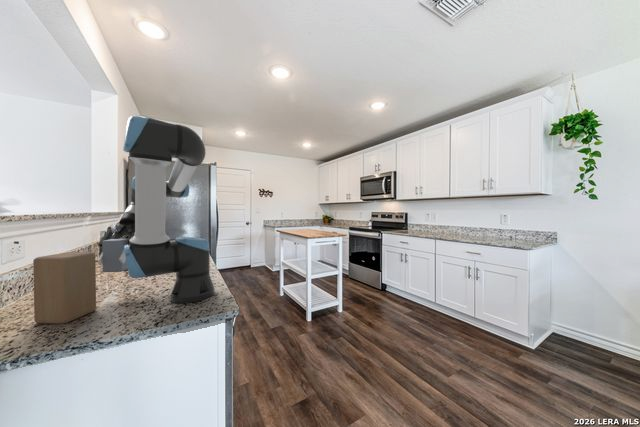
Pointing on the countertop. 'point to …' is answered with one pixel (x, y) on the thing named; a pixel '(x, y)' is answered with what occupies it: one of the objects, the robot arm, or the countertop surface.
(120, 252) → the slate block
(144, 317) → the countertop surface
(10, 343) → the countertop surface
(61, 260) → the wooden block
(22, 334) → the countertop surface
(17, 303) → the countertop surface
